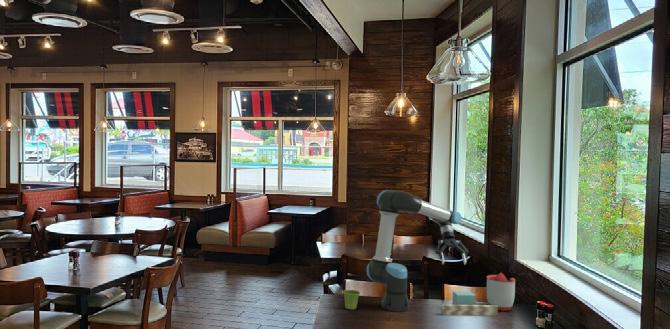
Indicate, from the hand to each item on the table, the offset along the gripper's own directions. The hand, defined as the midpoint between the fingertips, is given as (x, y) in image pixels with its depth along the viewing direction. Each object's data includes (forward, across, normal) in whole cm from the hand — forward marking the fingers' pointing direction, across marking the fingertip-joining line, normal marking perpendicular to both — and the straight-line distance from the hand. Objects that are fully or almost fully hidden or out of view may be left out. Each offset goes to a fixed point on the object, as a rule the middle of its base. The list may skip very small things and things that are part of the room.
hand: (454, 263), depth 269 cm
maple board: (+35, 0, +4) cm, 35 cm away
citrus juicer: (+25, -23, -6) cm, 35 cm away
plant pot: (+29, +63, -1) cm, 70 cm away
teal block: (+28, 0, -3) cm, 28 cm away
